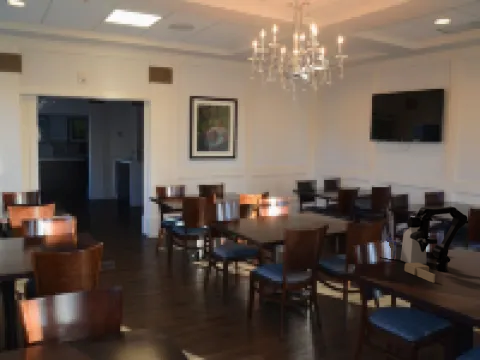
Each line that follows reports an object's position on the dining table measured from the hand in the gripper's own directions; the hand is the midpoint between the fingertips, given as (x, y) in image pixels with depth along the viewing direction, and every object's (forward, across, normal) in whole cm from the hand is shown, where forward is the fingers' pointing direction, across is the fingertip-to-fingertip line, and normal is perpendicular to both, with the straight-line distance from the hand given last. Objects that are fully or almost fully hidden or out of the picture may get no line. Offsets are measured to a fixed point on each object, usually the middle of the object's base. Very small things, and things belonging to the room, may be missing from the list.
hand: (422, 252), depth 291 cm
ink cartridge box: (+12, -32, -2) cm, 34 cm away
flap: (+12, +17, -11) cm, 23 cm away
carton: (+12, +4, -6) cm, 14 cm away
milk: (+12, -20, +10) cm, 25 cm away
